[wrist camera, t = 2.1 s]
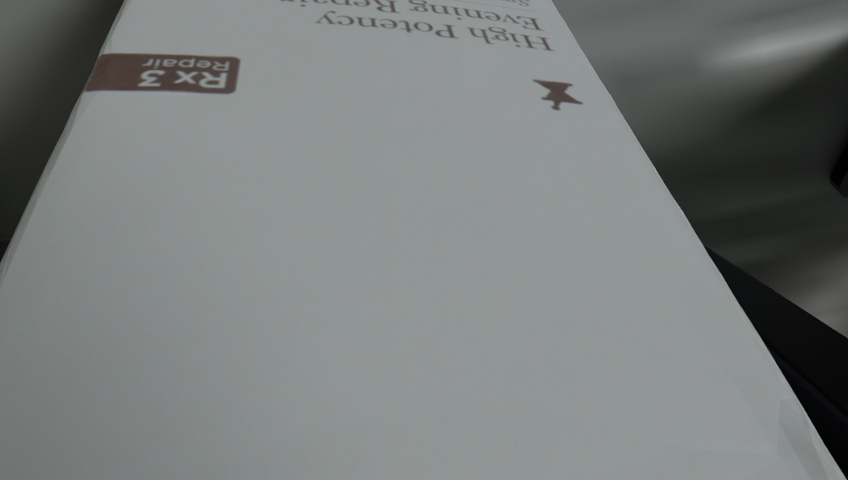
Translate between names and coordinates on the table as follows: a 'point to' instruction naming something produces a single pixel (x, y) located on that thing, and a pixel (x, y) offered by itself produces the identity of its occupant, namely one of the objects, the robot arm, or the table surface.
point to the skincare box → (371, 265)
